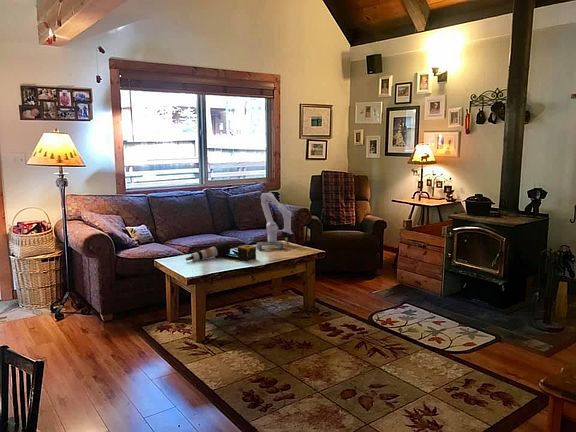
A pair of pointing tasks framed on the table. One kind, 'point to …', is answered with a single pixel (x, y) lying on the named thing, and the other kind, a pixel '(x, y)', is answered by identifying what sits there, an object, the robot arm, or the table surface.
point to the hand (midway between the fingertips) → (287, 241)
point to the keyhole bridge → (260, 244)
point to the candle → (246, 253)
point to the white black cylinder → (211, 252)
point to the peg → (286, 241)
